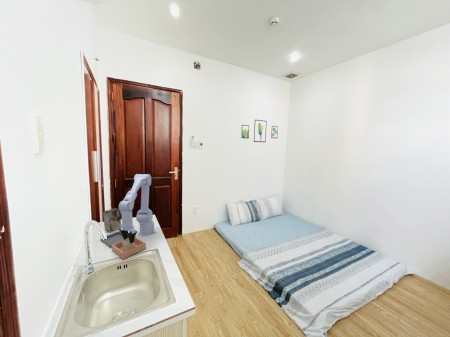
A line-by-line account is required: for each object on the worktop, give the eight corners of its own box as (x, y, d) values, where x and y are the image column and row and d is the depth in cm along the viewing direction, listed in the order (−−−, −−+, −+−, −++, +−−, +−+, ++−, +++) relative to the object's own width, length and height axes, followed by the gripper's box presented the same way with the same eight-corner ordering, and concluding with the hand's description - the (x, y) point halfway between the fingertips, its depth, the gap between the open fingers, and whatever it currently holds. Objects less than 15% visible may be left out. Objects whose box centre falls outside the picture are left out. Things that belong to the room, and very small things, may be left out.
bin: (134, 241, 128) (134, 236, 127) (145, 248, 119) (145, 242, 119) (112, 251, 117) (111, 245, 116) (123, 259, 108) (122, 253, 108)
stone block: (130, 246, 121) (130, 238, 121) (134, 249, 118) (134, 241, 118) (122, 249, 117) (122, 242, 117) (126, 252, 114) (126, 244, 114)
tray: (120, 234, 138) (119, 230, 138) (130, 240, 129) (130, 237, 129) (100, 241, 128) (100, 237, 128) (110, 249, 119) (110, 245, 119)
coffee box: (116, 227, 149) (114, 207, 147) (121, 228, 147) (120, 208, 145) (104, 232, 141) (102, 211, 139) (110, 233, 139) (108, 212, 136)
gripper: (114, 219, 116) (116, 239, 118) (126, 225, 108) (128, 247, 110) (126, 215, 122) (127, 235, 124) (138, 221, 113) (139, 242, 115)
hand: (128, 240), depth 117 cm, fingers open, 7 cm apart
